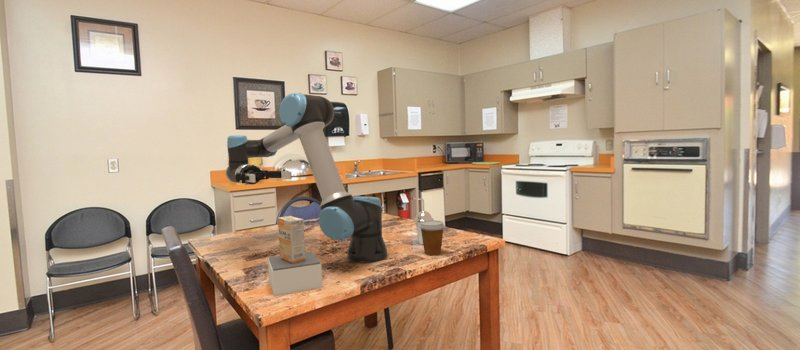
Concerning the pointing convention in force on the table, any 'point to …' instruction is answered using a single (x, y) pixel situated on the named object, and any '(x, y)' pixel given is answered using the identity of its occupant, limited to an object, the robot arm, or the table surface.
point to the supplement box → (291, 239)
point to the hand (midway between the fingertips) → (273, 176)
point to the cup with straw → (421, 220)
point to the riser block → (294, 274)
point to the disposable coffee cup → (432, 236)
